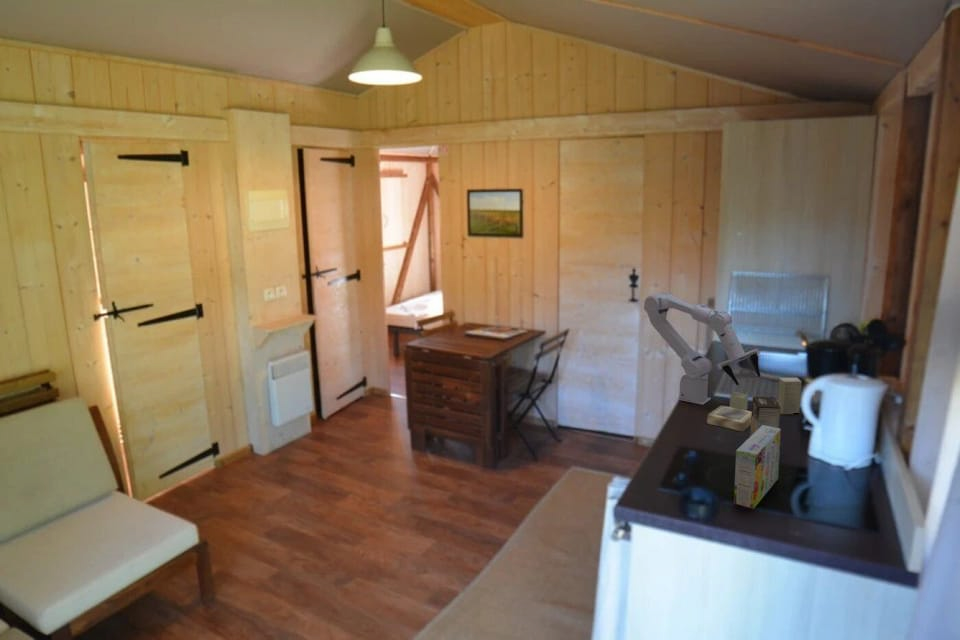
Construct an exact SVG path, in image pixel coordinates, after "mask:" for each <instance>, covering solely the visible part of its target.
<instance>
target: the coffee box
mask: <svg viewBox="0 0 960 640" xmlns="http://www.w3.org/2000/svg"><path fill="white" fill-rule="evenodd" d="M780 408H781V407H780V406H779V404H778V400H777V399H776V398H775V397H774V396H752V402H751V412H752V415H751V425H750V430H749V431H750V432H749V434H750V435H749V438H750V437H751V436H752V435H753V434H754V433H755V432H756V431H757V430H758V429H759V428H760V427H761V426H762V425H765V426H770V427H775V428H780V417H781V413H780Z"/></svg>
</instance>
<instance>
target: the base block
mask: <svg viewBox="0 0 960 640" xmlns="http://www.w3.org/2000/svg"><path fill="white" fill-rule="evenodd" d="M706 415H707V416H706V417H707V418H706V424H707V425H712V426H717V427H721V428H726V429H731V430H733V431H738V432H744V431H746V430H747V429H748V428H749V427H751V415H752V410H747V411H746V410H742V409H737V408H732V407H730V406H727V405H721V404H720V405H719V406H718V407H716V408H715V409H714V410H712V411H711V412H709V413H708V414H706Z"/></svg>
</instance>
